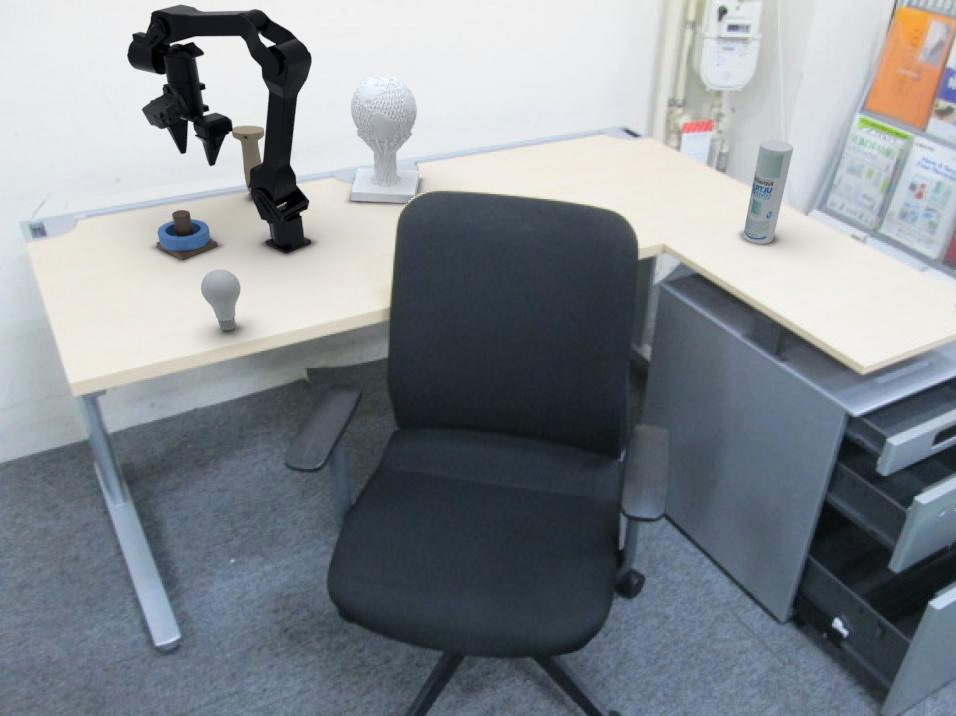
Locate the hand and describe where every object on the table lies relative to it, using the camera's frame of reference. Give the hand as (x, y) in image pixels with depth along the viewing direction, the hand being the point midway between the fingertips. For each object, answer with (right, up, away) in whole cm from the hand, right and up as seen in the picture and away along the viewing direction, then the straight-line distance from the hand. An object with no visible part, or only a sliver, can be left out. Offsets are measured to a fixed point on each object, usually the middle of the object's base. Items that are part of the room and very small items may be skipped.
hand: (197, 159), depth 180 cm
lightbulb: (+15, -36, -26) cm, 47 cm away
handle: (+6, -4, +18) cm, 19 cm away
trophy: (+33, 0, +24) cm, 41 cm away
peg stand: (-1, -18, -2) cm, 18 cm away
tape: (-2, -16, -2) cm, 17 cm away
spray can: (+114, -13, +13) cm, 115 cm away
